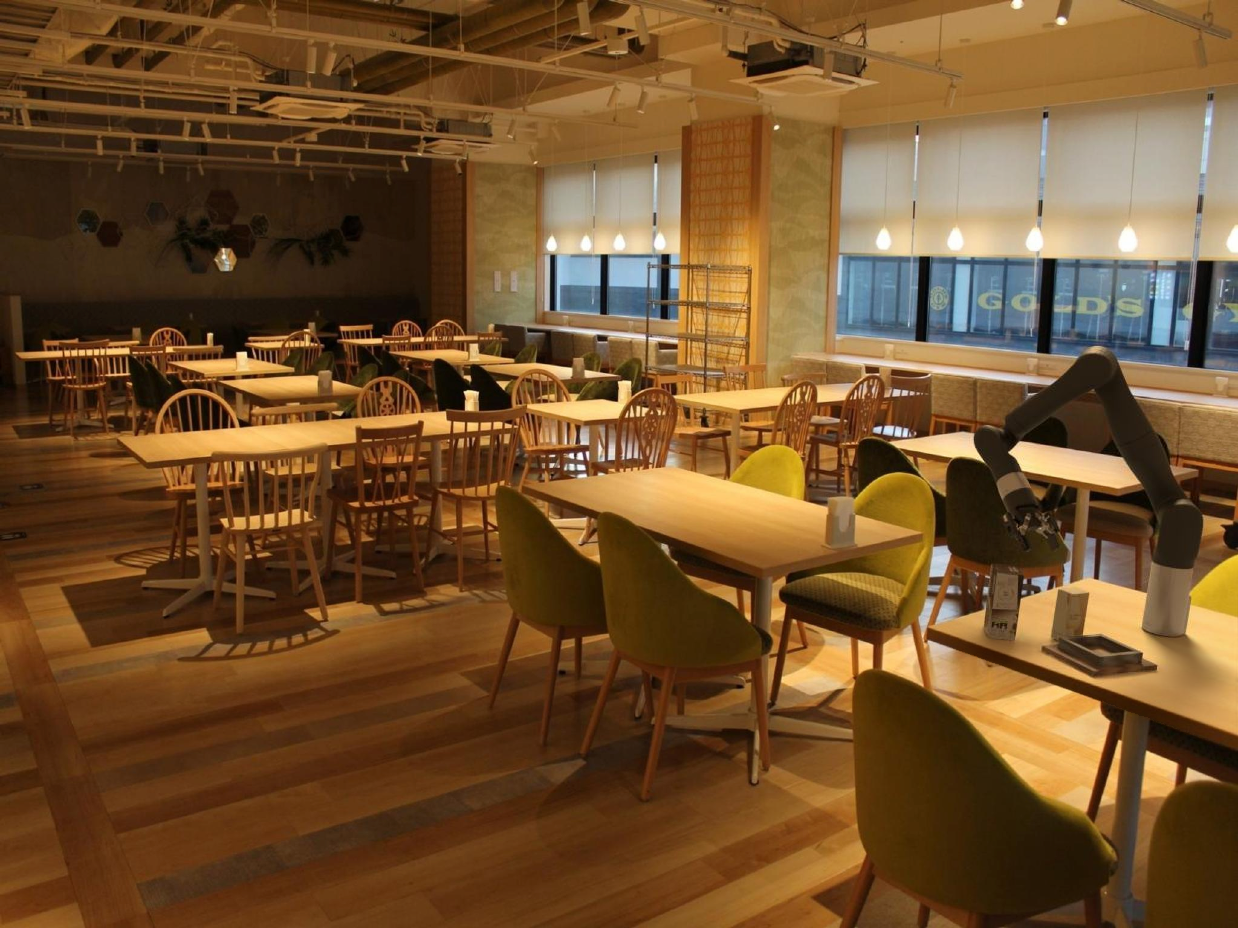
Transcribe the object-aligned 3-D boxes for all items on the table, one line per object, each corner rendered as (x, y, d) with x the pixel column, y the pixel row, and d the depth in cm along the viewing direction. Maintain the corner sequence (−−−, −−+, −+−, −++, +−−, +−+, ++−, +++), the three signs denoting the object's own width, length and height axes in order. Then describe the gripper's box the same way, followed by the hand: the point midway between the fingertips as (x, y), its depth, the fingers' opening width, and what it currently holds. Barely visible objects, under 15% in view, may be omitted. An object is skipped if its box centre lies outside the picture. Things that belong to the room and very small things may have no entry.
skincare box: (1064, 643, 253) (1071, 594, 250) (1049, 637, 256) (1056, 588, 254) (1083, 640, 256) (1090, 591, 253) (1068, 634, 259) (1075, 586, 257)
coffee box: (1016, 641, 253) (1025, 575, 250) (987, 637, 254) (996, 572, 251) (1010, 628, 261) (1018, 565, 258) (982, 625, 263) (991, 562, 260)
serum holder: (1102, 644, 254) (1104, 630, 253) (1156, 669, 239) (1159, 654, 238) (1041, 650, 247) (1043, 635, 247) (1093, 676, 233) (1096, 660, 232)
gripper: (1002, 486, 266) (1028, 543, 258) (1048, 486, 271) (1074, 542, 263) (985, 502, 272) (1010, 558, 264) (1030, 501, 277) (1056, 556, 269)
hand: (1042, 550), depth 264 cm, fingers open, 8 cm apart
